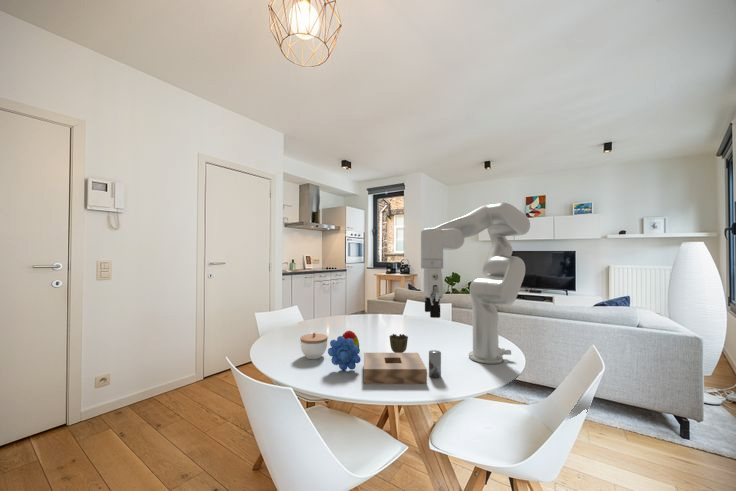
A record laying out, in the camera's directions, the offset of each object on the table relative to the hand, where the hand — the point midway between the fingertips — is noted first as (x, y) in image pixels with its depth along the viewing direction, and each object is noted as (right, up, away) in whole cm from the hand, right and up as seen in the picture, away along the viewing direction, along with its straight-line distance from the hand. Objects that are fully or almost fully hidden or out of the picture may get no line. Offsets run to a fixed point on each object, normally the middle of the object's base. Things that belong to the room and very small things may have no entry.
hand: (432, 314), depth 102 cm
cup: (-9, -21, +19) cm, 30 cm away
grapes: (-30, -21, +2) cm, 37 cm away
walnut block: (-13, -21, +1) cm, 24 cm away
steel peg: (+1, -21, -1) cm, 21 cm away
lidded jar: (-43, -21, +17) cm, 51 cm away
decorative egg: (-29, -21, +18) cm, 41 cm away
